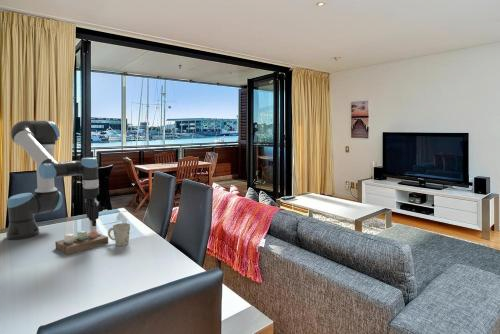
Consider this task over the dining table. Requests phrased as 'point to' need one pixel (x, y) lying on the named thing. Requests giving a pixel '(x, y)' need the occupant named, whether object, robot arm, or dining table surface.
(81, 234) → the button sage
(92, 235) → the button terracotta
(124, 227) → the mug
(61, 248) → the button panel
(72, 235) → the button cream
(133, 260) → the dining table surface
